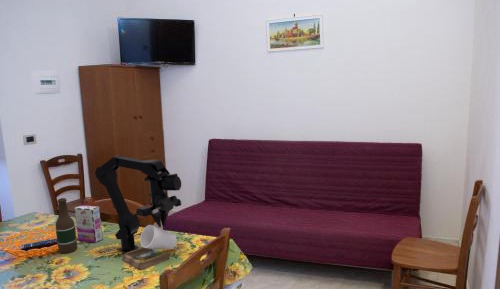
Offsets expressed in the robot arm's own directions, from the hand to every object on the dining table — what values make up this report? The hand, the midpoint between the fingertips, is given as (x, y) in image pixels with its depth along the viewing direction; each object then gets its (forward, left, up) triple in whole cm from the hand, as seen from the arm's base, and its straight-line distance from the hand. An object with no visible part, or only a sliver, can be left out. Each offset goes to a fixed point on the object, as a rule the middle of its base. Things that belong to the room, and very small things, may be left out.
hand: (161, 226), depth 166 cm
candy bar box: (-42, -13, -12) cm, 46 cm away
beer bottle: (-38, -25, -12) cm, 47 cm away
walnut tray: (-1, -7, -12) cm, 14 cm away
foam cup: (0, +4, -8) cm, 10 cm away
